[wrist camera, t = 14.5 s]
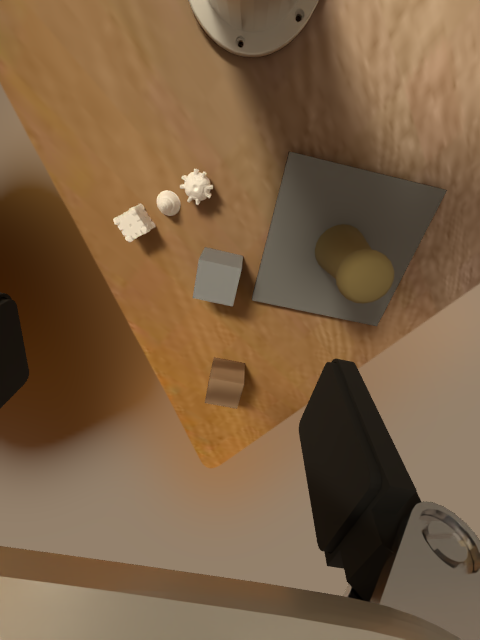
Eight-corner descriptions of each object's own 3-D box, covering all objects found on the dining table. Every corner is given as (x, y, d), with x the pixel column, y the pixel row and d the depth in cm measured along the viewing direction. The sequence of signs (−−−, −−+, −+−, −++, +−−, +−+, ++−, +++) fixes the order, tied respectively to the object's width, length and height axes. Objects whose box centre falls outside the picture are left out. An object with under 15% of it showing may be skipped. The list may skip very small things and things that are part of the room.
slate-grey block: (205, 247, 38) (198, 259, 34) (243, 255, 39) (241, 268, 34) (199, 282, 41) (192, 297, 36) (234, 290, 41) (232, 306, 37)
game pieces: (138, 237, 38) (128, 244, 35) (122, 213, 37) (111, 218, 34) (219, 191, 35) (216, 195, 32) (205, 163, 34) (200, 164, 31)
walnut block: (213, 356, 47) (209, 378, 42) (244, 362, 47) (244, 384, 43) (209, 380, 49) (204, 402, 45) (238, 386, 50) (237, 408, 45)
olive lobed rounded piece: (373, 253, 37) (416, 288, 27) (330, 281, 39) (356, 324, 29) (349, 213, 34) (386, 236, 25) (305, 245, 36) (323, 278, 27)
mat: (289, 151, 32) (290, 151, 32) (441, 189, 34) (447, 190, 33) (252, 297, 41) (252, 300, 40) (374, 322, 43) (376, 326, 42)
